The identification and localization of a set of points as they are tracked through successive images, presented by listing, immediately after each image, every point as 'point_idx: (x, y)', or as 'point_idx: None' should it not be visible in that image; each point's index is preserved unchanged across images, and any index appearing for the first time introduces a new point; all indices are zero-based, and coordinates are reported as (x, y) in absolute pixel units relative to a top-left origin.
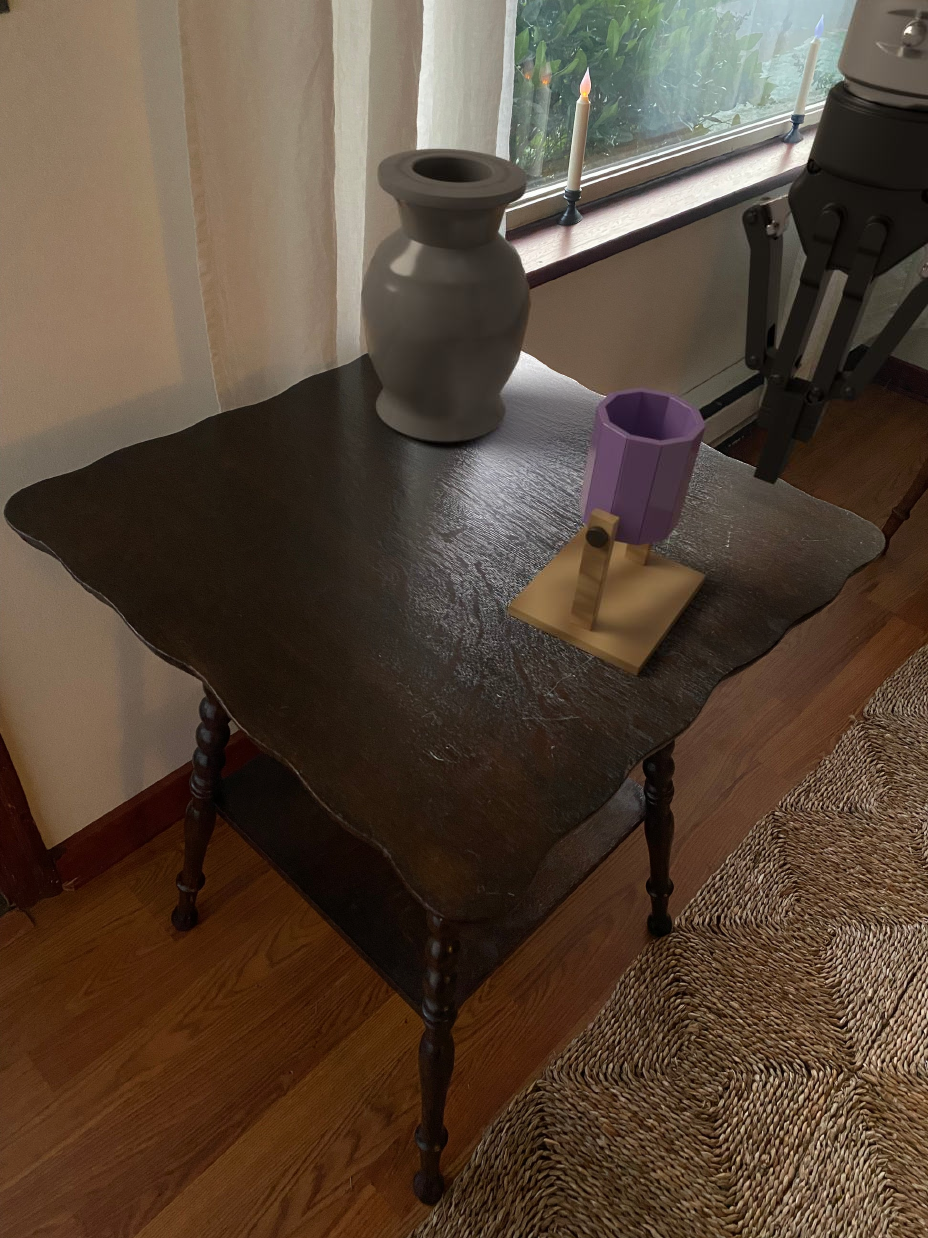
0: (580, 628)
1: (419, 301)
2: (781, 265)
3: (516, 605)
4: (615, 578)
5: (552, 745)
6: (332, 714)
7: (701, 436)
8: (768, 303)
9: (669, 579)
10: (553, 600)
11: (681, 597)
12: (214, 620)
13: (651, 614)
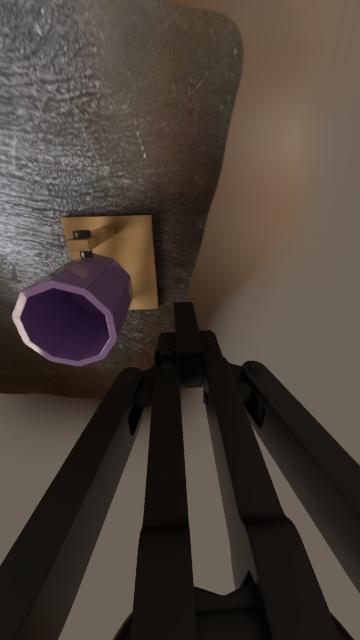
0: None
1: None
2: (74, 518)
3: None
4: (111, 257)
5: (151, 352)
6: (84, 382)
7: (115, 313)
8: (115, 485)
9: (135, 236)
10: None
11: (149, 247)
12: (12, 378)
13: (143, 272)
